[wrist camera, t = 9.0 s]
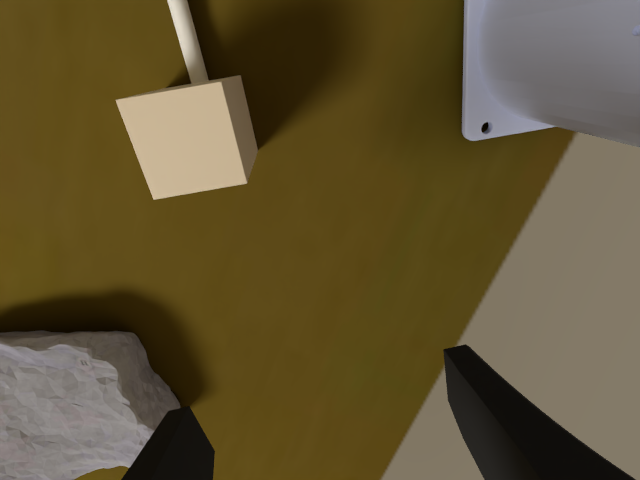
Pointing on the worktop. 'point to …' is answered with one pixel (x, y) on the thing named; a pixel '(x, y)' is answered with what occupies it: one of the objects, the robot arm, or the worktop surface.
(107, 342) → the stone block
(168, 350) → the worktop surface
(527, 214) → the worktop surface
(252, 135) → the multicoloured linked piece
